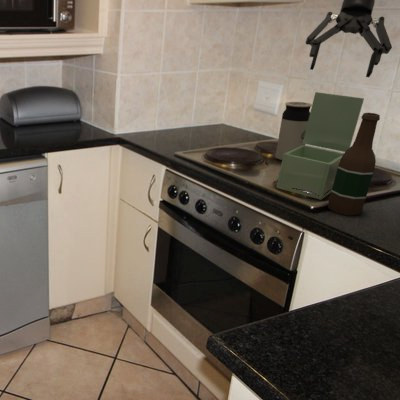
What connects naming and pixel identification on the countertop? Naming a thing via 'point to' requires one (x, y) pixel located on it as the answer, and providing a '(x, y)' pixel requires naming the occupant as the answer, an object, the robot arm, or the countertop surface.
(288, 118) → the travel mug
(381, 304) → the countertop surface
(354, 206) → the beer bottle
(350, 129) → the canister lid
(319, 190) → the green open box
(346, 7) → the robot arm
